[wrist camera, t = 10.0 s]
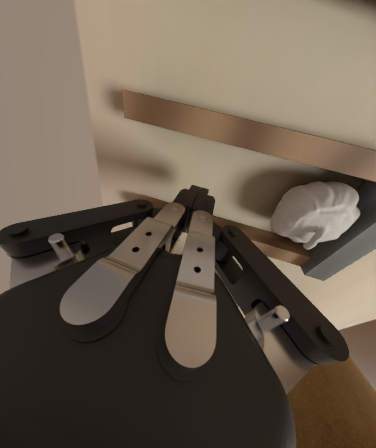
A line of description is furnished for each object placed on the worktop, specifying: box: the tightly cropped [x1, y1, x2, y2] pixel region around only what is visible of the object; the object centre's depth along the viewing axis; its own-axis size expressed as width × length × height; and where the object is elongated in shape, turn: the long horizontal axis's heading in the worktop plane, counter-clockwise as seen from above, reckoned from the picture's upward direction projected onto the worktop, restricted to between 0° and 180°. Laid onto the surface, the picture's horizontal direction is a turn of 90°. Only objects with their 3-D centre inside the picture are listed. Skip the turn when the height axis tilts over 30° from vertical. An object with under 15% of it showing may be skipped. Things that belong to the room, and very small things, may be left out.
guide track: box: [122, 90, 376, 281], centre depth 13 cm, size 22×11×4 cm, turn 80°
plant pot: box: [287, 356, 376, 448], centre depth 18 cm, size 15×15×16 cm
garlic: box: [270, 181, 360, 250], centre depth 12 cm, size 6×5×5 cm
